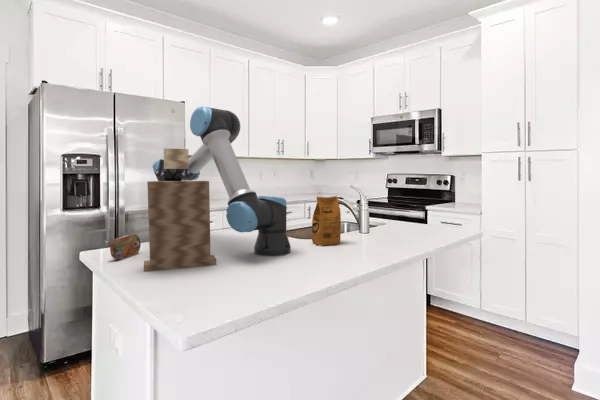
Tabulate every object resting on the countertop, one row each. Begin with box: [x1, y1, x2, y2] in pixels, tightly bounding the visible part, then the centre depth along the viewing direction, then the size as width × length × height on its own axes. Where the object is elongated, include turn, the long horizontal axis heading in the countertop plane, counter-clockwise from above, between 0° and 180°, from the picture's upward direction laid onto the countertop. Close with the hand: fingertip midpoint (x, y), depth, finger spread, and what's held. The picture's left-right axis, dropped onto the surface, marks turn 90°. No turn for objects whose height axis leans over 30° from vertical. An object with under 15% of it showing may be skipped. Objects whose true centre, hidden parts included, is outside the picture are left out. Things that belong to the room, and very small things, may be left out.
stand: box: [143, 180, 217, 272], centre depth 129 cm, size 24×7×30 cm, turn 112°
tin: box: [109, 233, 141, 261], centre depth 142 cm, size 15×3×8 cm, turn 168°
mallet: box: [163, 148, 190, 169], centre depth 138 cm, size 8×21×7 cm, turn 22°
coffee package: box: [311, 195, 342, 246], centre depth 168 cm, size 10×12×22 cm
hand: (174, 152), depth 140 cm, fingers closed on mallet, 3 cm apart
